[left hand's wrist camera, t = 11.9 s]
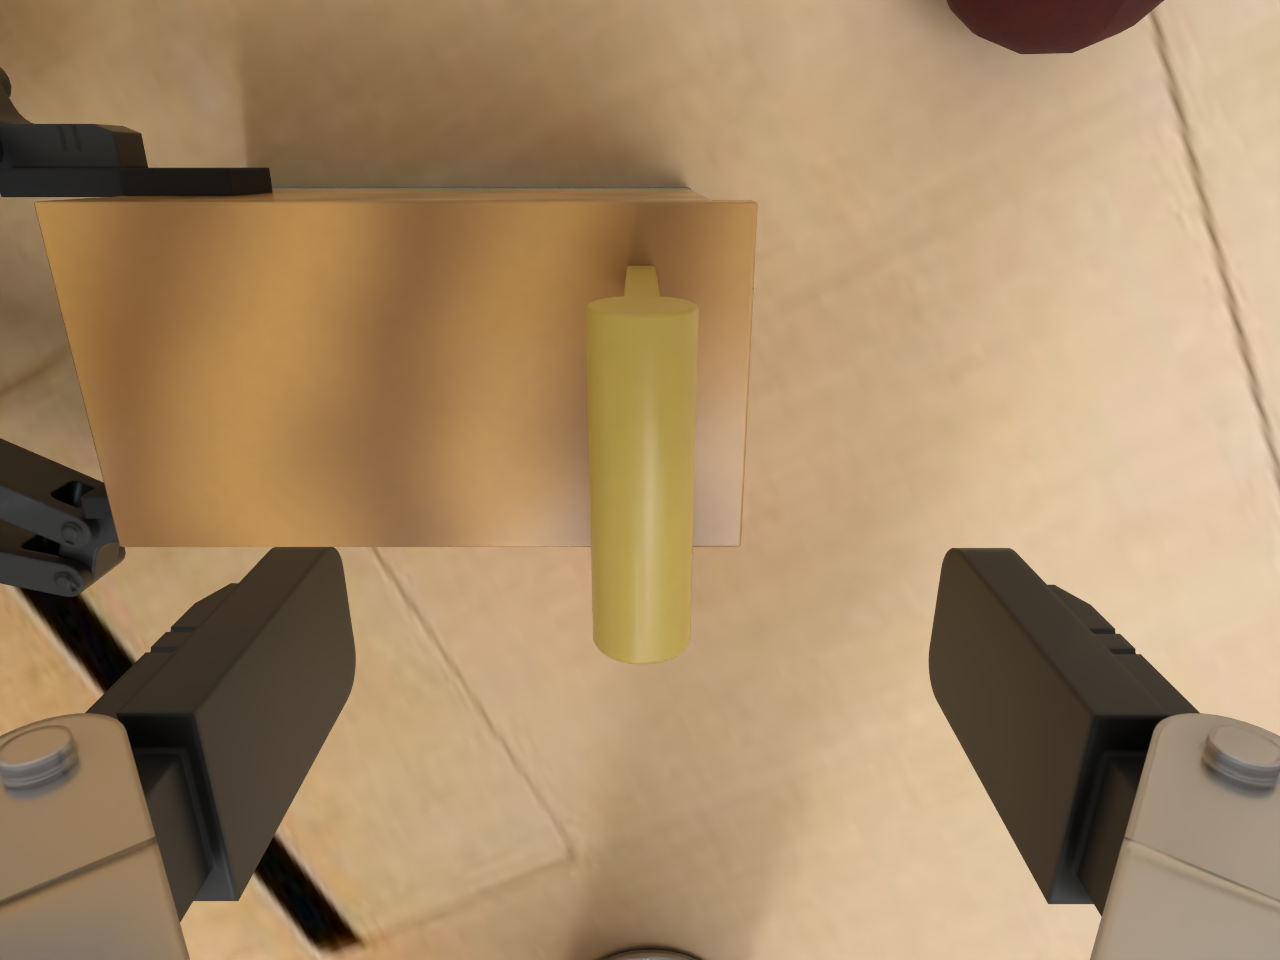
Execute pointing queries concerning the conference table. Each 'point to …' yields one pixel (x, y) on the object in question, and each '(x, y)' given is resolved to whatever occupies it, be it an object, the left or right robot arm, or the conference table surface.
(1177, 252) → the conference table surface
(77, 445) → the conference table surface
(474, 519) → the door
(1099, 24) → the dark maroon ball
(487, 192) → the chest
